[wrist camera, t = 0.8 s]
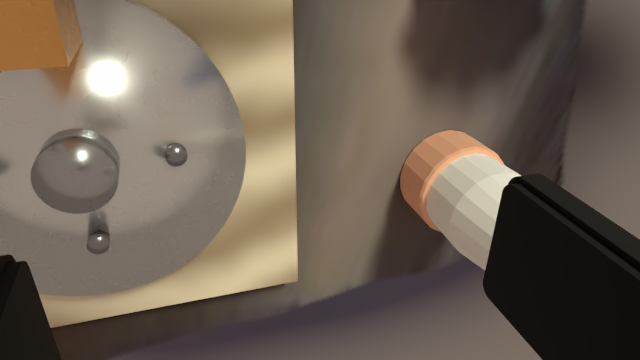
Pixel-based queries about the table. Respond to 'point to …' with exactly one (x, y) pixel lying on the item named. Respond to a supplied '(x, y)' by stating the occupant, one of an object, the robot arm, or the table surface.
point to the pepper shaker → (457, 190)
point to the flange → (110, 144)
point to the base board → (260, 170)
